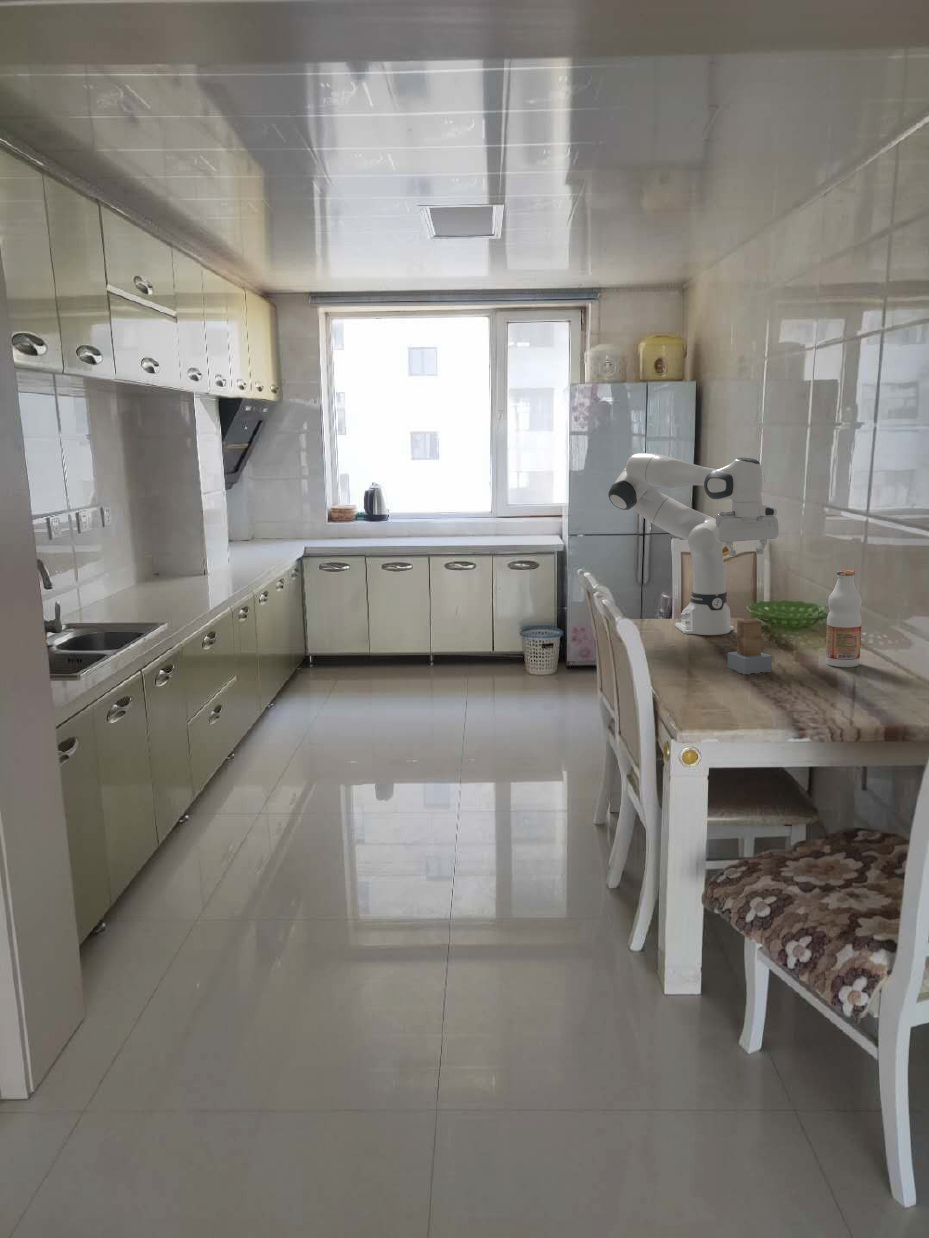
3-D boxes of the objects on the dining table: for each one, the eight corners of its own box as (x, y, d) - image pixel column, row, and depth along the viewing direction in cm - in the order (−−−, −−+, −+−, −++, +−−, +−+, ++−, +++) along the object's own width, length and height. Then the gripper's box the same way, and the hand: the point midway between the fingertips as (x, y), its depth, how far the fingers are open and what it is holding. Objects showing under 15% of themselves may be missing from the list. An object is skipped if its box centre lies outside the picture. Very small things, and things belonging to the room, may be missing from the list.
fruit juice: (818, 663, 270) (821, 570, 265) (841, 658, 274) (844, 567, 269) (843, 669, 262) (847, 574, 257) (866, 665, 266) (871, 571, 261)
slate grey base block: (727, 668, 270) (727, 652, 269) (754, 665, 272) (754, 649, 271) (744, 675, 261) (744, 658, 260) (771, 672, 264) (772, 655, 263)
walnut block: (737, 653, 268) (737, 620, 266) (752, 651, 269) (753, 618, 267) (745, 656, 263) (745, 623, 261) (761, 655, 264) (761, 621, 262)
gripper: (720, 513, 275) (720, 558, 278) (781, 509, 279) (780, 554, 282) (711, 512, 281) (710, 556, 284) (770, 508, 285) (769, 551, 288)
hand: (746, 555), depth 283 cm, fingers open, 8 cm apart
